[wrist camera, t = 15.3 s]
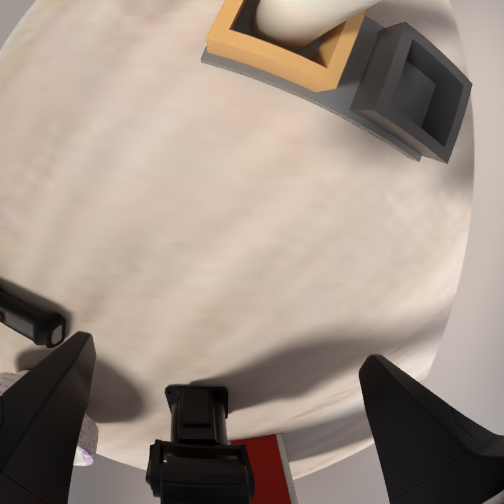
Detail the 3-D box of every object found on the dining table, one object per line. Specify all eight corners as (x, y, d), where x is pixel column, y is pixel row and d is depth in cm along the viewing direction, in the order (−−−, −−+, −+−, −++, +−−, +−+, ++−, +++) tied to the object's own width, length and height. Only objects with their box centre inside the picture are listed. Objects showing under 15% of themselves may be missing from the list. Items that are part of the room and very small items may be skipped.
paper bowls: (124, 423, 29) (118, 473, 22) (51, 420, 29) (41, 460, 22) (53, 347, 22) (27, 408, 15) (-12, 354, 22) (-34, 397, 15)
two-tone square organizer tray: (439, 79, 15) (475, 80, 11) (411, 158, 18) (446, 171, 14) (247, -29, 10) (256, -59, 7) (201, 62, 13) (197, 46, 10)
